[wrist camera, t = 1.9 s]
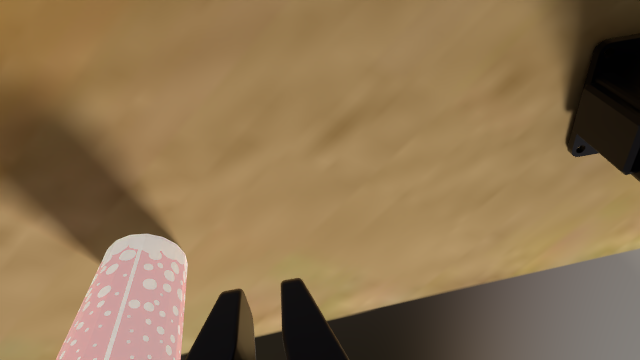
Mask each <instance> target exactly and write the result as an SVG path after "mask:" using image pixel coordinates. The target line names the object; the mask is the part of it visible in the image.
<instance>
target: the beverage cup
mask: <svg viewBox="0 0 640 360" xmlns="http://www.w3.org/2000/svg"><path fill="white" fill-rule="evenodd" d="M187 265H188V264H187V260H186V255H185V253H184V252H183V251H182V250H181V249H180V247H179V246H178V245H177V244H175V243H174V242H172V241H170V240H168V239H166V238H164V237H161V236H156V235H151V234H135V235H128V236H126V237H123V238H121V239H118V240H116V241H115V242H114V243H113V244H112V245H111V246H110V247H109V248H108V249H107V251H106V253H105V255H104V258H103V260H102V262H101V264H100V266H99V268H98V270H97V273H96V275H95V277H94V279H93V281H92V283H91V285H90V288H89V290H88V292H87V294H86V296H85V298H84V300H83V303H82V305H81V307H80V309H79V311H78V313H77V315H76V318H75V320H74V322H73V324H72V326H71V328H70V330H69V333H68V335H67V337H66V339H65V341H64V343H63V345H62V348H61V350H60V352H59V354H58V356H57V358H56V360H180V357H181V345H182V332H183V319H184V305H185V292H186V278H187Z"/></svg>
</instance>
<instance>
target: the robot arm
mask: <svg viewBox="0 0 640 360" xmlns="http://www.w3.org/2000/svg"><path fill="white" fill-rule="evenodd" d="M608 48H609V50H608V52H606V53H605V54H604V52H605V51H606V50H607V49H608ZM579 146H580V147H579ZM578 147H579V148H578ZM568 151H569V152H570V153H571V154H572V155H573V156H575V157H580V156H586V155H591V154H597V153H600V154H601V155H602V156H603V157H604V158H606V159H607V160H608V161H609V162H610V163H611V164H613V165H614V166H615V167H616V168H617V169H618V170H620V171H621V172H622V173H623V174H625V175H628V174H631V175H632V176H634V177H635V178H636V179H637V180H638V181H640V34H636V35H630V36H624V37H618V38H612V39H607V40H604V41H602V42H600V43H599V44H598V45H597V46H596V47H595V50H594V52H593V56H592V59H591V63H590V67H589V70H588V74H587V78H586V81H585V85H584V89H583V92H582V96H581V100H580V104H579V107H578V111H577V115H576V118H575V122H574V126H573V129H572V133H571V137H570V141H569V144H568ZM281 310H282V333H283V343H284V348H285V353H286V358H287V360H349V359H348V357H347V355H346V354H345V352H344V350H343V348H342V347H341V345H340V344H339V342H338V340H337V338H336V337H335V335H334V333H333V332H332V330H331V328H330V326H329V325H328V323H327V321H326V320H325V318H324V316H323V315H322V313H321V311H320V310H319V308H318V306H317V304H316V303H315V301H314V299H313V298H312V296H311V294H310V293H309V291H308V289H307V288H306V286H305V284H304V282H303V281H302V280H301V279H300V278H295V279H289V280H284V281H282V283H281ZM185 360H256V352H255V339H254V326H253V318H252V313H251V310H250V307H249V305H248V302H247V299H246V296H245V294H244V292H243V290H242V289H234V290H229V291H224V292H222V293H221V294H220V296H219V298H218V300H217V301H216V303H215V305H214V307H213V309H212V311H211V313H210V314H209V316H208V318H207V320H206V322H205V324H204V326H203V327H202V329H201V331H200V333H199V335H198V337H197V339H196V340H195V342H194V344H193V346H192V348H191V350H190V352H189V353H188V355H187V357H186V359H185Z"/></svg>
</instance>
